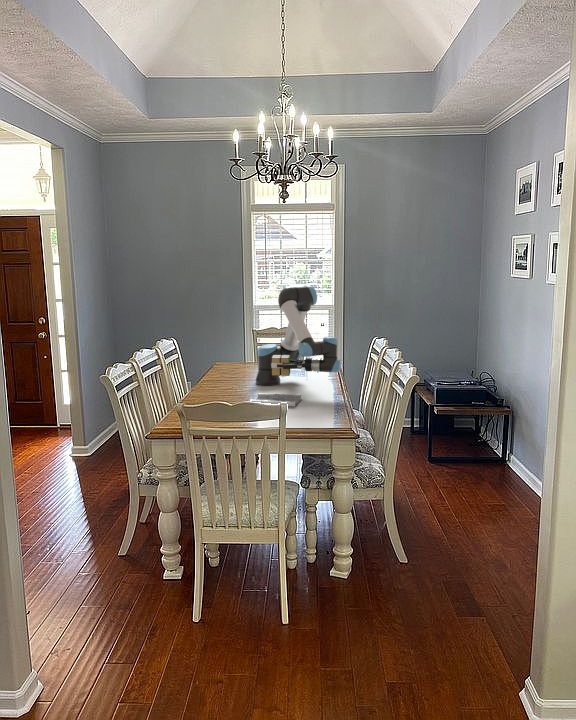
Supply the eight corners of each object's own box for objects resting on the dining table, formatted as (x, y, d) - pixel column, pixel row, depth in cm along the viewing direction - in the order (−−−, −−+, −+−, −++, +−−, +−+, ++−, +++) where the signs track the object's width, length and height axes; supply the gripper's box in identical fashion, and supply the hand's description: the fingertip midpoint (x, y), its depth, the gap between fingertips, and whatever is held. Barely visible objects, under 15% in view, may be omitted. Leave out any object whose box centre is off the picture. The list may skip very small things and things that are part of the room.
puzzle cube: (272, 372, 338) (272, 354, 336) (290, 372, 337) (290, 355, 336) (271, 375, 328) (271, 358, 326) (289, 376, 328) (289, 358, 326)
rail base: (249, 405, 310) (249, 400, 309) (258, 398, 326) (258, 393, 325) (294, 407, 304) (294, 402, 304) (301, 400, 321) (301, 395, 320)
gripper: (308, 375, 317) (268, 374, 322) (316, 367, 340) (279, 365, 345) (308, 361, 316) (268, 360, 320) (316, 354, 338) (279, 353, 343)
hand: (274, 363), depth 333 cm, fingers closed on puzzle cube, 11 cm apart
